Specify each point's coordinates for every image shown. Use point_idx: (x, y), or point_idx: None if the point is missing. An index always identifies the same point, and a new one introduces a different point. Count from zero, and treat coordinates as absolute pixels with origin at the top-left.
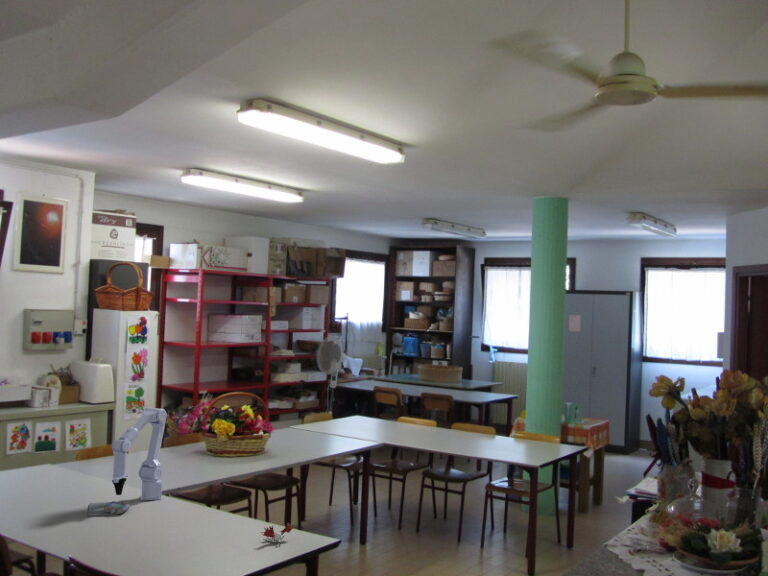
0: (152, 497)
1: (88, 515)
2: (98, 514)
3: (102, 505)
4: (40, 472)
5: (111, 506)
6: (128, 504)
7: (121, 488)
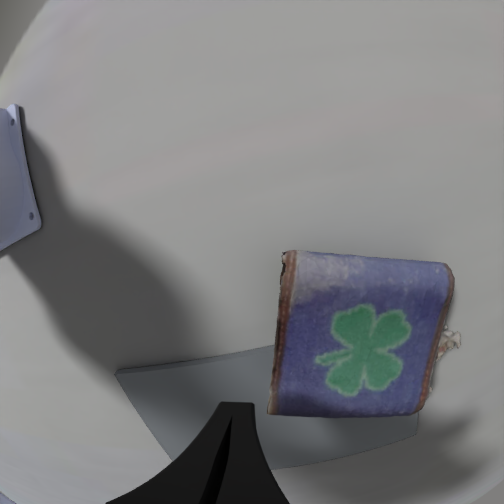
0: (10, 156)
1: (415, 433)
2: None
3: None
4: (2, 485)
5: (411, 378)
6: (297, 270)
7: (263, 460)
